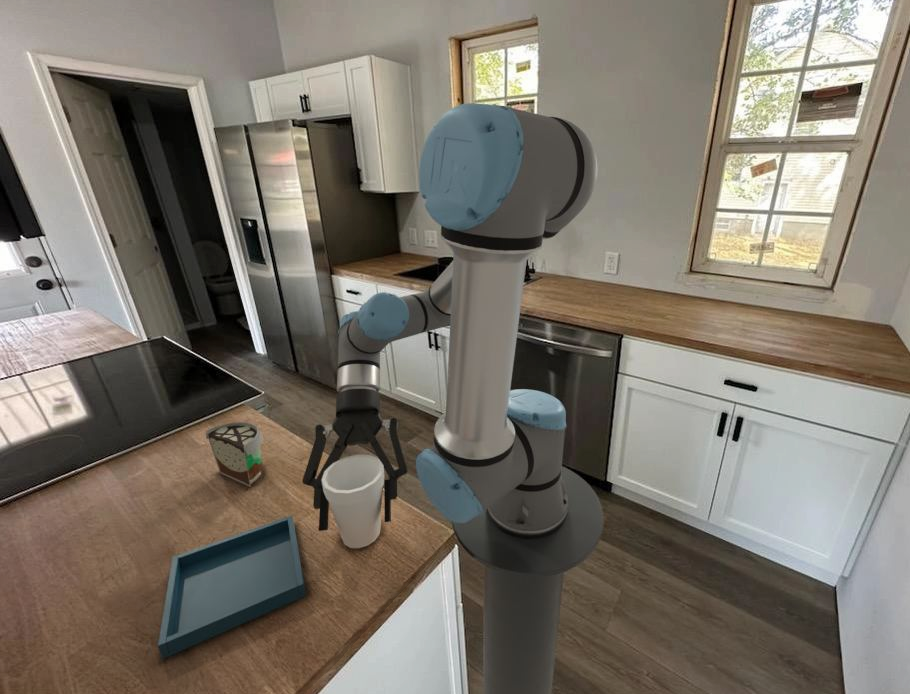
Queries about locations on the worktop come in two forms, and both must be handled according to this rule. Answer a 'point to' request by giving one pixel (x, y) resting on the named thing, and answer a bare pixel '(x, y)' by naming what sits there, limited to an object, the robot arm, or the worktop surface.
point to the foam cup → (355, 497)
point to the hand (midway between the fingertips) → (356, 525)
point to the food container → (237, 451)
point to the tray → (230, 584)
